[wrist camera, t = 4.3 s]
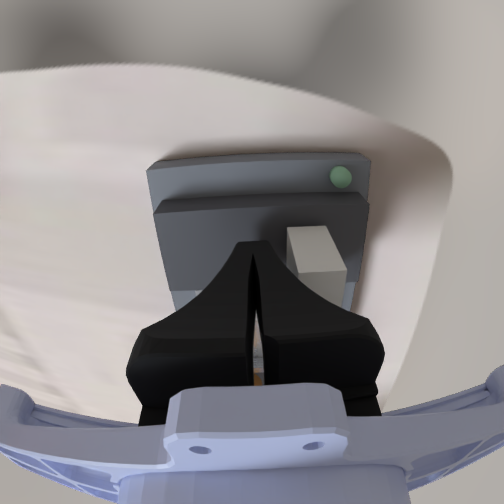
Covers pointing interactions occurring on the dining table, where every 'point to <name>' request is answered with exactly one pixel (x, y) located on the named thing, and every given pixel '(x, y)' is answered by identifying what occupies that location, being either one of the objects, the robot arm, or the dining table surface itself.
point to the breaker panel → (252, 181)
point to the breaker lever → (316, 261)
